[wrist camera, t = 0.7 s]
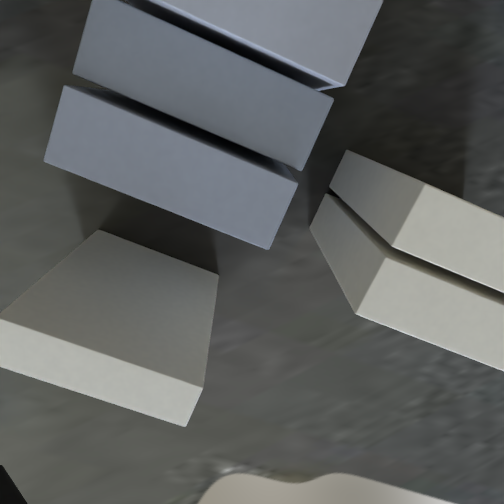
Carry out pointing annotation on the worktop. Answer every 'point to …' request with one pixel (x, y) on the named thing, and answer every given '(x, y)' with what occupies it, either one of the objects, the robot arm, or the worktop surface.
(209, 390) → the worktop surface
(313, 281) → the worktop surface
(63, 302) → the thin white book
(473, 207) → the white books
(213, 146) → the grey books
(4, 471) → the robot arm
